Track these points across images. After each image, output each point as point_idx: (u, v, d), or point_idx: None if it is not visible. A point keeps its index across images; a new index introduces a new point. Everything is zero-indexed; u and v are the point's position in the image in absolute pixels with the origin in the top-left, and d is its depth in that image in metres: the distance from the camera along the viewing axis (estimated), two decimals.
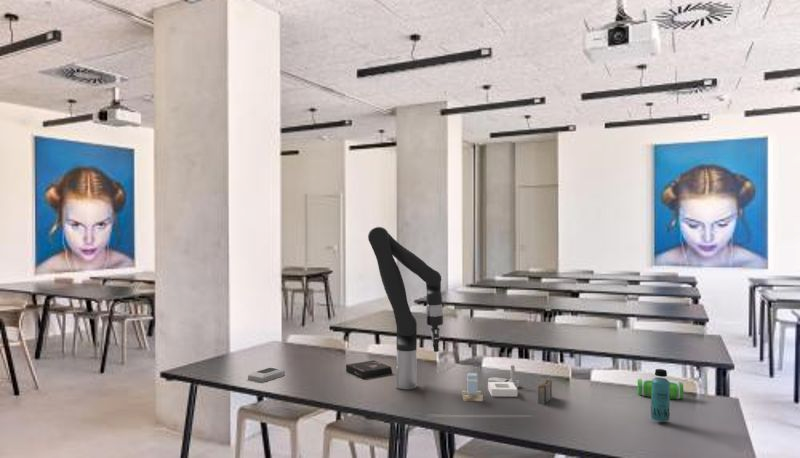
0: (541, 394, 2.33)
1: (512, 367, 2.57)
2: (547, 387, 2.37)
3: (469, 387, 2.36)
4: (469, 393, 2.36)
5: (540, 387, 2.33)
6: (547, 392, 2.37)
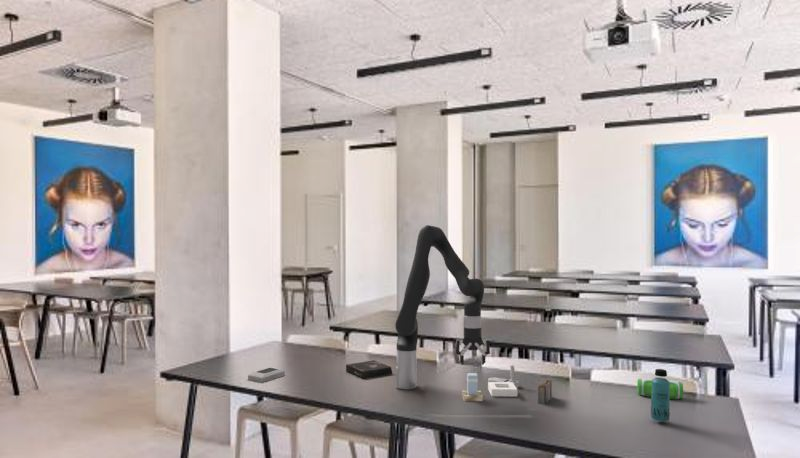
0: (541, 394, 2.33)
1: (512, 367, 2.57)
2: (547, 387, 2.37)
3: (469, 387, 2.36)
4: (469, 393, 2.36)
5: (540, 387, 2.33)
6: (547, 392, 2.37)
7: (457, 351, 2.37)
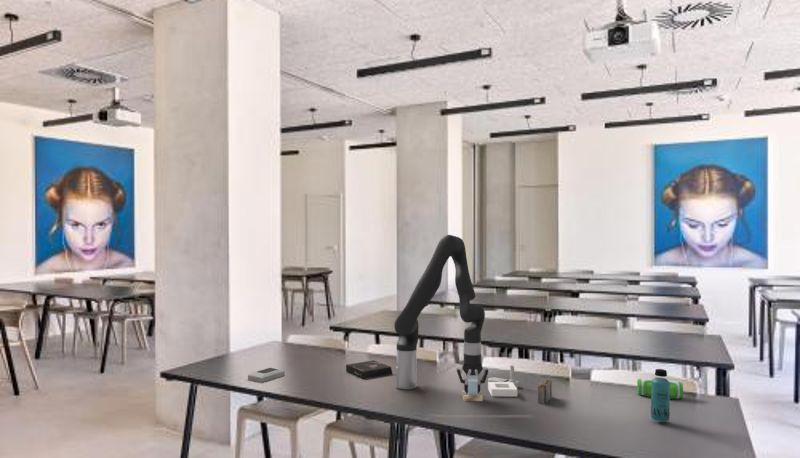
0: (541, 394, 2.33)
1: (511, 367, 2.56)
2: (547, 387, 2.37)
3: (469, 387, 2.36)
4: (469, 393, 2.36)
5: (540, 387, 2.33)
6: (547, 392, 2.37)
7: (461, 380, 2.37)
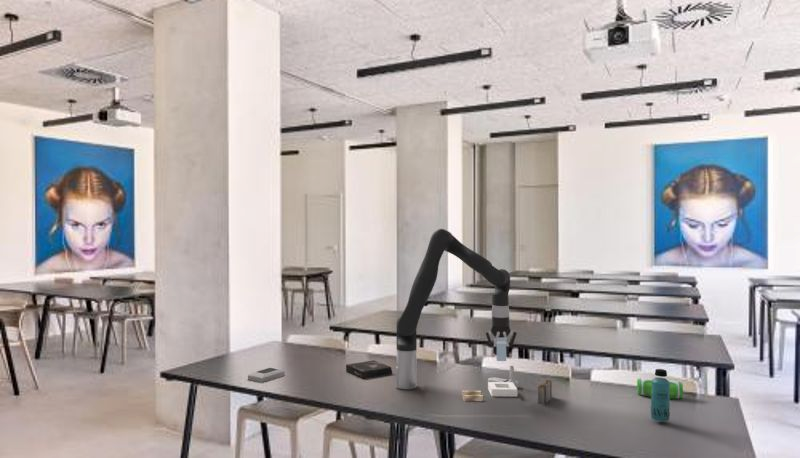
0: (541, 394, 2.33)
1: (511, 367, 2.56)
2: (547, 387, 2.37)
3: (498, 349, 2.42)
4: (498, 355, 2.42)
5: (540, 387, 2.33)
6: (547, 392, 2.37)
7: (490, 342, 2.43)
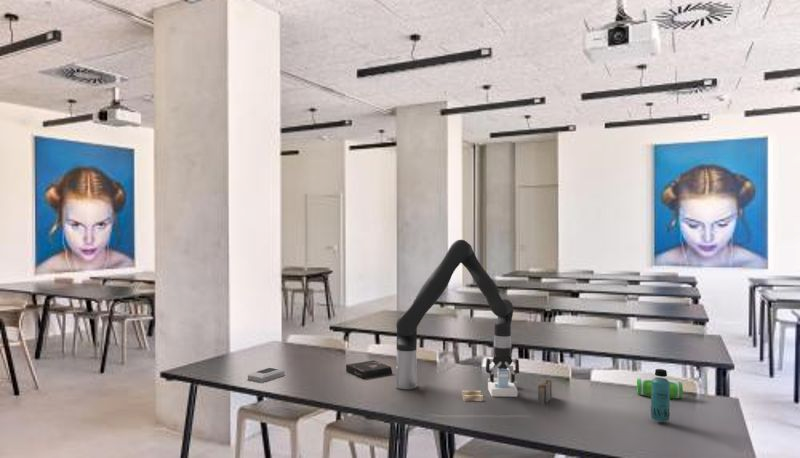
0: (541, 394, 2.33)
1: None
2: (547, 387, 2.37)
3: (500, 382, 2.43)
4: None
5: (540, 387, 2.33)
6: (547, 392, 2.37)
7: (487, 370, 2.44)
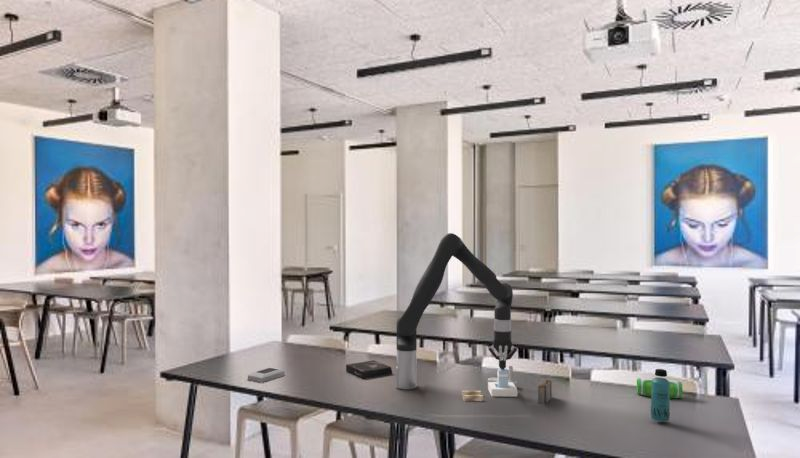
0: (541, 394, 2.33)
1: (510, 368, 2.56)
2: (547, 387, 2.37)
3: (500, 382, 2.43)
4: None
5: (540, 387, 2.33)
6: (547, 392, 2.37)
7: (496, 356, 2.44)
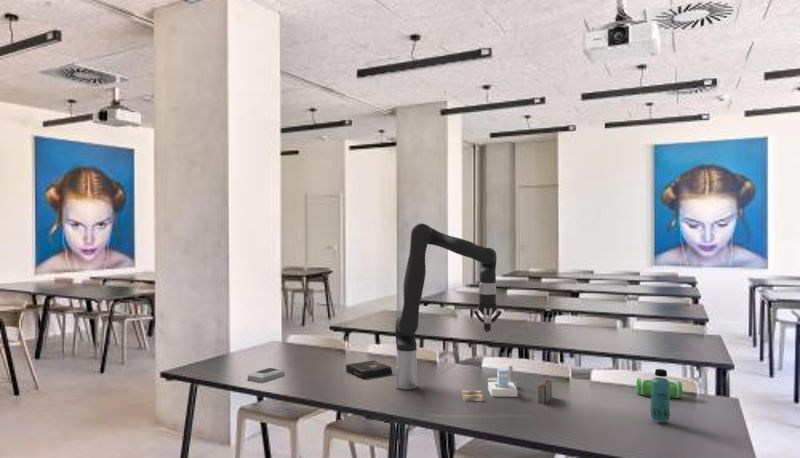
0: (541, 394, 2.33)
1: (510, 368, 2.56)
2: (547, 387, 2.37)
3: (500, 382, 2.43)
4: None
5: (540, 387, 2.33)
6: (547, 392, 2.37)
7: (481, 319, 2.49)
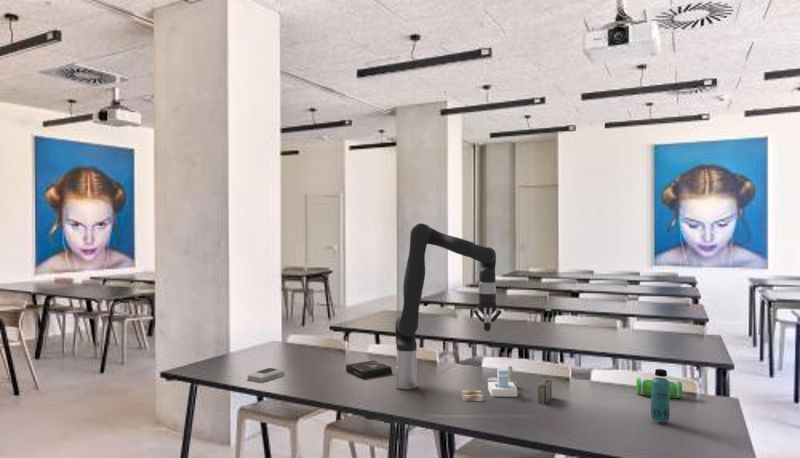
0: (541, 394, 2.33)
1: (509, 368, 2.56)
2: (547, 387, 2.37)
3: (500, 382, 2.43)
4: None
5: (540, 387, 2.33)
6: (547, 392, 2.37)
7: (481, 318, 2.49)
